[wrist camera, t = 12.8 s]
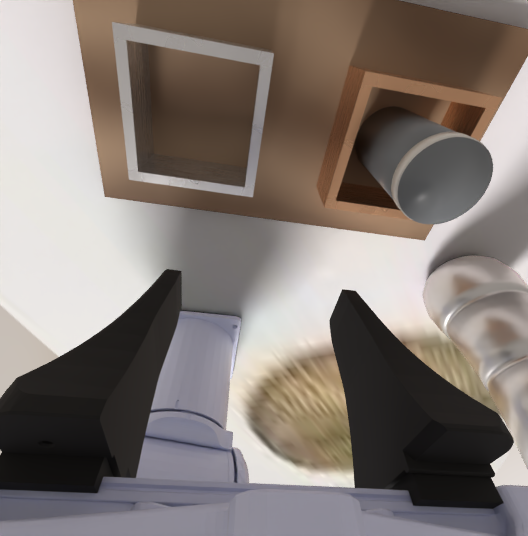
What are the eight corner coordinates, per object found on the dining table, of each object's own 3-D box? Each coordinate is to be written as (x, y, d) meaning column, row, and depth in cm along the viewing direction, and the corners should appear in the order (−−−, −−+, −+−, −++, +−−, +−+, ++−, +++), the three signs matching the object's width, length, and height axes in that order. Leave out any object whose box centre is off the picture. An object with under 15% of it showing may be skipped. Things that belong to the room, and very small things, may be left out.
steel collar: (253, 176, 19) (252, 197, 17) (145, 160, 18) (129, 179, 16) (271, 50, 15) (274, 53, 13) (135, 23, 15) (111, 22, 12)
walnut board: (418, 233, 23) (424, 240, 22) (110, 190, 21) (104, 196, 20) (526, 32, 16) (541, 32, 15) (72, -69, 13) (60, -75, 13)
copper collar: (412, 200, 20) (432, 223, 18) (316, 186, 20) (324, 207, 17) (466, 88, 16) (502, 97, 14) (349, 65, 16) (365, 71, 13)
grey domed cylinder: (401, 175, 19) (460, 231, 13) (345, 165, 19) (383, 218, 13) (430, 112, 17) (515, 147, 11) (368, 99, 17) (424, 127, 11)
